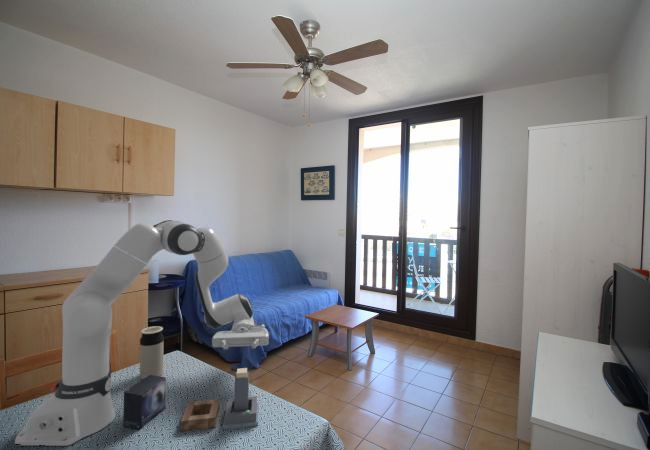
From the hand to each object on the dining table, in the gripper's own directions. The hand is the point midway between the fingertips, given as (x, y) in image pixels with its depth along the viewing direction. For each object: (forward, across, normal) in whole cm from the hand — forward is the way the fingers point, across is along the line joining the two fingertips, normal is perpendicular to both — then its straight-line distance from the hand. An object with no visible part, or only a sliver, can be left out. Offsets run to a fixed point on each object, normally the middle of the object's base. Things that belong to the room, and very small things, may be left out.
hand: (239, 346), depth 107 cm
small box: (+8, -27, +18) cm, 33 cm away
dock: (+12, +2, +17) cm, 21 cm away
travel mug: (-20, -34, +18) cm, 43 cm away
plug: (+12, +2, +16) cm, 20 cm away
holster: (+12, -10, +17) cm, 23 cm away
